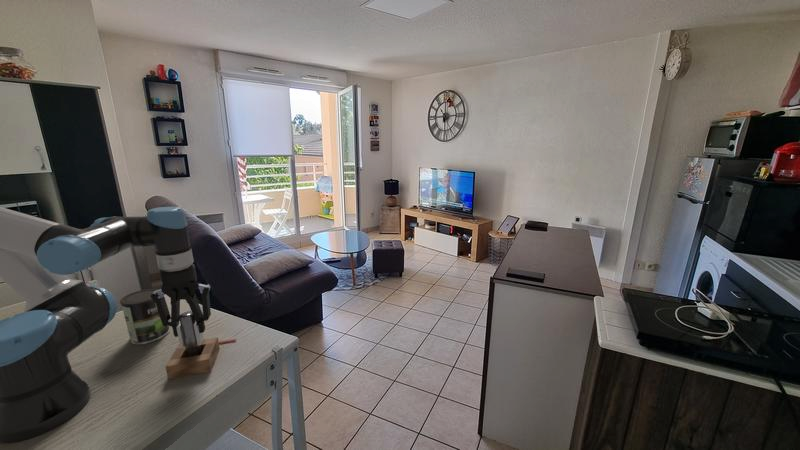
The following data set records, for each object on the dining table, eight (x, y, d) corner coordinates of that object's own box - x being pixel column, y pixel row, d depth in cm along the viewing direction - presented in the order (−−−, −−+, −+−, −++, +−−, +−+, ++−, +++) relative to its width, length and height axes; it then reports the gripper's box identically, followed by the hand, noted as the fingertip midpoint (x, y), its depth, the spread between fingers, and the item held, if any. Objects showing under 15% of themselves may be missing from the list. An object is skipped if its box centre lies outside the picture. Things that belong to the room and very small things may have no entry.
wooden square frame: (168, 379, 82) (165, 366, 81) (181, 354, 91) (179, 343, 90) (210, 371, 85) (208, 359, 83) (219, 348, 94) (217, 337, 93)
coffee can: (177, 325, 105) (170, 288, 101) (153, 345, 95) (144, 304, 91) (148, 325, 105) (139, 287, 101) (121, 344, 95) (110, 303, 91)
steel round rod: (186, 363, 85) (177, 318, 82) (190, 355, 88) (181, 312, 85) (200, 360, 86) (191, 316, 83) (203, 353, 89) (195, 310, 86)
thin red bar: (184, 349, 93) (184, 348, 93) (185, 347, 94) (185, 346, 94) (235, 341, 97) (235, 340, 97) (236, 339, 98) (236, 338, 98)
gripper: (131, 275, 74) (151, 358, 80) (208, 268, 79) (222, 346, 85) (146, 264, 81) (163, 340, 87) (216, 257, 86) (227, 331, 92)
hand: (192, 343), depth 86 cm, fingers closed on steel round rod, 3 cm apart
